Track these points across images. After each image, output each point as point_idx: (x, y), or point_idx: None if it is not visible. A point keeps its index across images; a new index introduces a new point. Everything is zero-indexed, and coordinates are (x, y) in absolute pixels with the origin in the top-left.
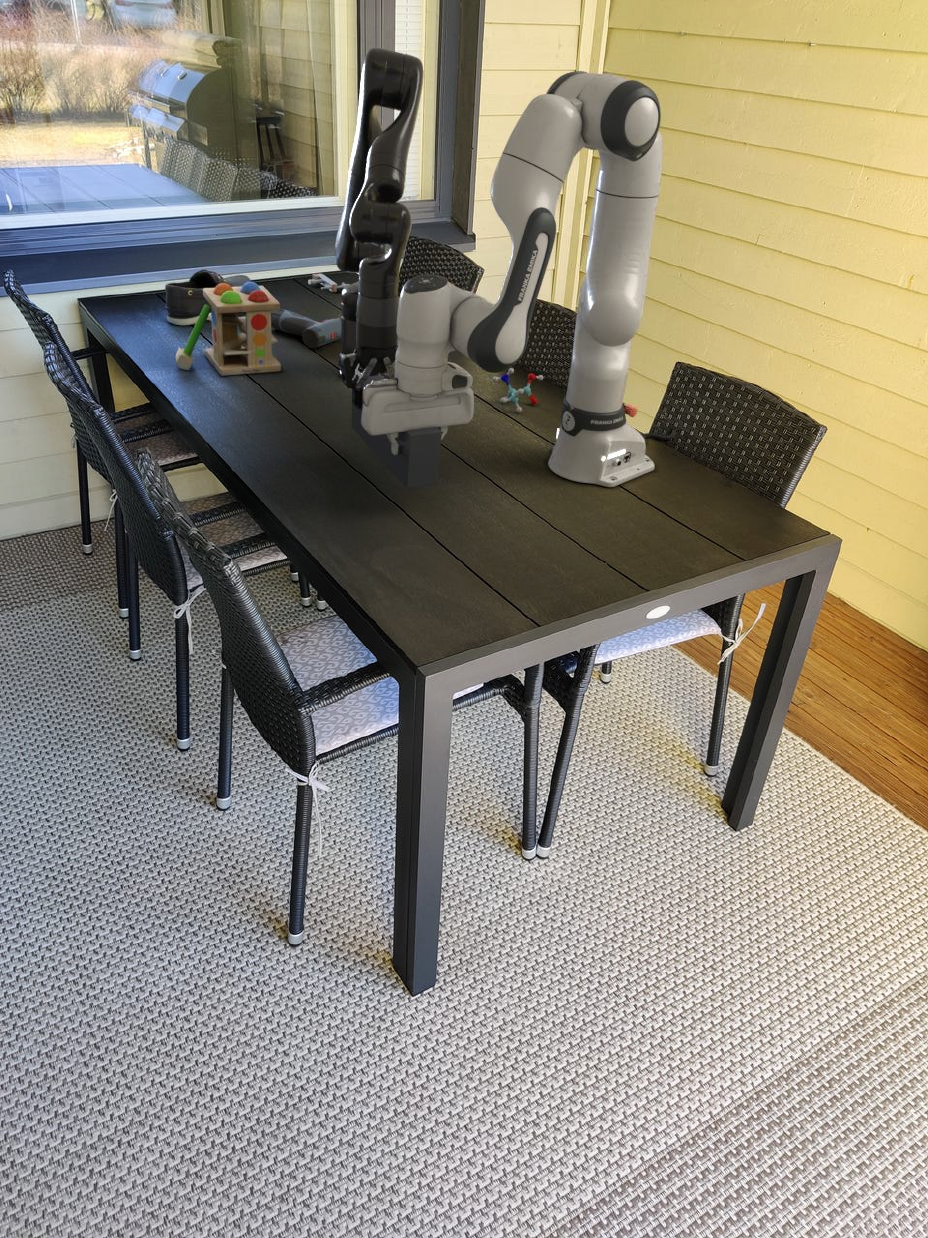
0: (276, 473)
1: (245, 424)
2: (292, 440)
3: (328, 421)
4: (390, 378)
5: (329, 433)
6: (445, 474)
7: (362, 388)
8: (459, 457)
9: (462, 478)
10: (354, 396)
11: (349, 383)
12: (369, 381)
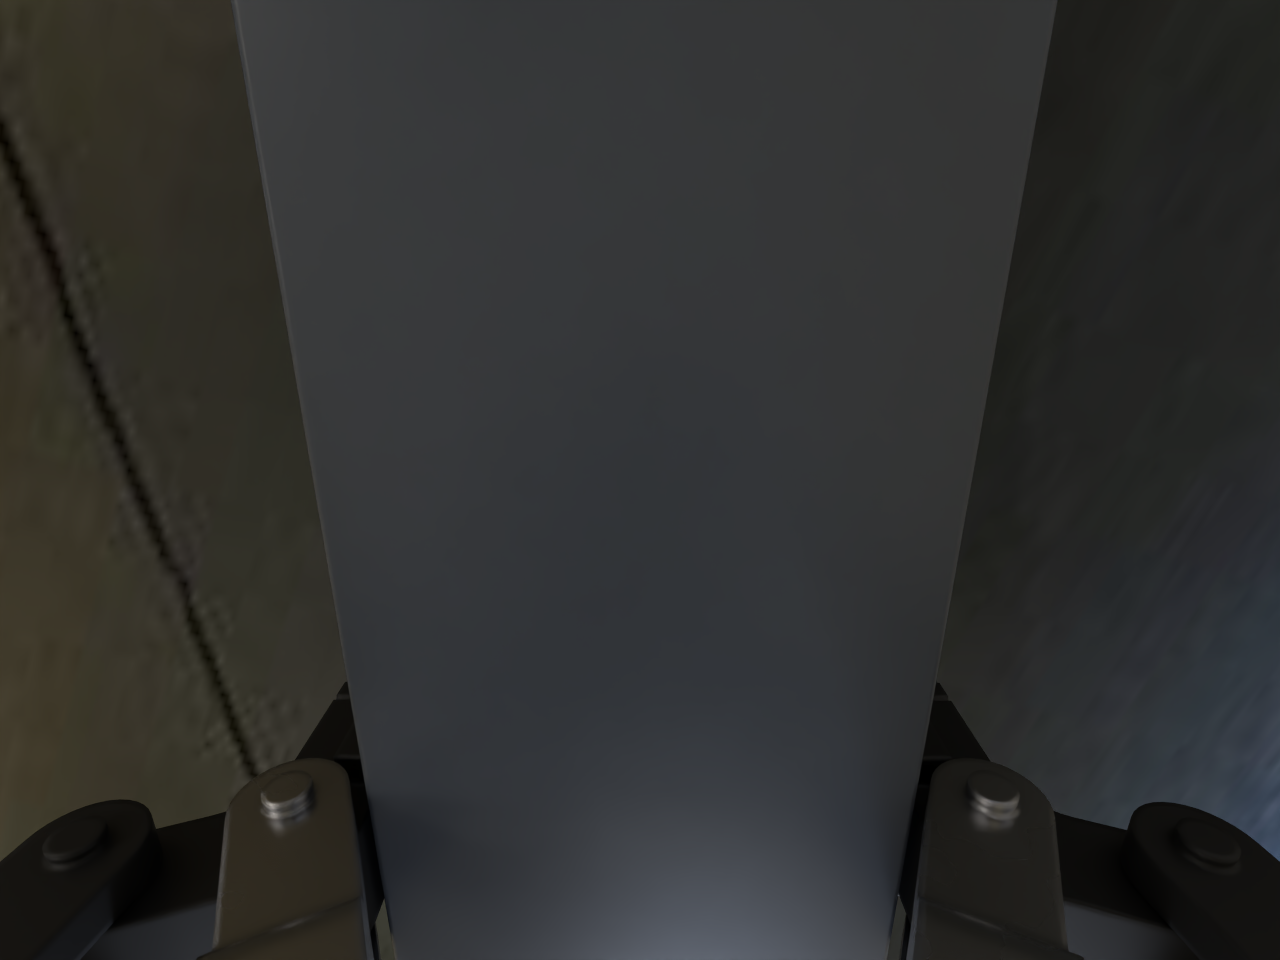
0: (1218, 461)
1: None
2: None
3: None
4: (356, 896)
5: None
6: (233, 133)
7: (912, 780)
8: (79, 350)
9: (124, 28)
10: (959, 721)
11: (1241, 878)
12: (688, 955)
